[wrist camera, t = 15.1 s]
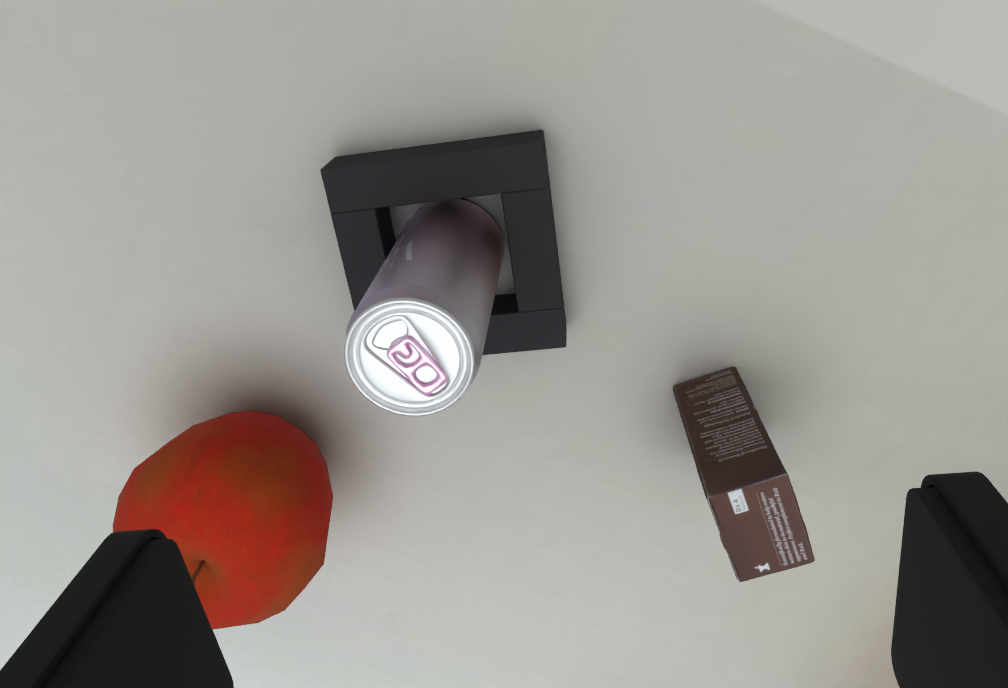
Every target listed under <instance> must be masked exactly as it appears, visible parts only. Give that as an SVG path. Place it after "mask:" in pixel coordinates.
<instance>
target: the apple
mask: <svg viewBox="0 0 1008 688" xmlns="http://www.w3.org/2000/svg"><path fill="white" fill-rule="evenodd" d="M332 501H333V494H332V489H331V484H330V479H329V474H328V469H327V464H326V461H325V459H324V457H323V456H322V454H321V452H320V450H319V448H318V446H317V444H316V443H315V442H314V441H313V440H312V439H311V438H310V437H308V436H307V435H306V434H305V433H304V432H303V431H302V430H301V429H300V428H298V427H297V426H295V425H293V424H291V423H289V422H288V421H286V420H284V419H282V418H280V417H279V416H277V415H272V414H267V413H262V412H258V411H243V412H233V413H228V414H225V415H222V416H219V417H217V418H214V419H211V420H208V421H205V422H202V423H199V424H196V425H193V426H191V427H190V428H189V429H187V430H186V431H184V432H183V433H181V434H180V435H178V436H177V437H175V438H174V439H172V440H171V441H170V442H168V443H167V444H166V445H164V446H163V447H162V448H160V449H159V450H158V451H156V452H155V453H154V454H153V455H151V456H150V457H149V458H147V459H146V460H145V461H144V462H142V463H141V464H140V465H138V466H137V467H136V468H134V470H133V472H132V473H131V475H130V477H129V479H128V481H127V482H126V484H125V486H124V488H123V490H122V491H121V493H120V495H119V498H118V503H117V508H116V513H115V517H114V522H113V533H114V532H117V531H129V530H143V529H158V530H160V531H162V532H163V533H164V534H165V536H166V538H167V539H172V540H174V541H175V542H176V543H177V545H178V547H179V549H180V552H181V554H182V557H183V559H184V561H185V564H186V566H187V569H188V571H189V574H190V576H191V579H192V581H193V583H194V586H195V588H196V591H197V593H198V596H199V598H200V601H201V603H202V606H203V608H204V610H205V613H206V615H207V618H208V620H209V623H210V625H211V628H212V629H218V628H226V627H233V626H240V625H246V624H253V623H259V622H261V621H263V620H265V619H267V618H269V617H271V616H273V615H275V614H278V613H280V612H282V611H284V610H285V609H286V608H287V607H288V606H289V605H290V604H291V603H292V602H293V600H294V599H295V598H296V597H297V596H298V595H299V594H300V593H301V592H302V591H303V589H304V588H305V587H306V586H307V585H308V583H309V582H310V581H311V579H312V578H313V577H314V576H315V574H316V573H317V572H318V571H319V569H320V568H321V567H322V565H323V564H324V558H325V551H326V543H327V536H328V529H329V522H330V515H331V508H332Z"/></svg>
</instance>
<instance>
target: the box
mask: <svg viewBox="0 0 1008 688" xmlns="http://www.w3.org/2000/svg"><path fill="white" fill-rule="evenodd" d="M673 392H674V395H675V398H676V402H677V405H678V408H679V412H680V415H681V418H682V422H683V425H684V428H685V431H686V434H687V438H688V441H689V444H690V447H691V450H692V454H693V457H694V460H695V463H696V467H697V471H698V474H699V477H700V480H701V483H702V486H703V490H704V493H705V496H706V498H707V501H708V504H709V506H710V509H711V511H712V514H713V516H714V519H715V521H716V524H717V526H718V529H719V533H720V538H721V541H722V544H723V546H724V548H725V550H726V551H727V553H728V556H729V559H730V561H731V564H732V567H733V570H734V572H735V575H736V578H737V580H738V581H739V582H743V581H747V580H750V579H754V578H757V577H761V576H765V575H768V574H772V573H776V572H780V571H784V570H788V569H791V568H795V567H798V566H802V565H805V564H809V563H812V562H814V561H815V559H814V556H813V552H812V548H811V545H810V541H809V537H808V533H807V530H806V526H805V524H804V521H803V519H802V516H801V513H800V510H799V506H798V503H797V499H796V496H795V493H794V491H793V488H792V485H791V482H790V479H789V476H788V474H787V472H786V470H785V468H784V466H783V465H782V462H781V460H780V458H779V456H778V454H777V452H776V450H775V448H774V446H773V444H772V442H771V440H770V438H769V436H768V434H767V432H766V430H765V427H764V425H763V423H762V422H761V419H760V417H759V415H758V412H757V411H756V409H755V406H754V404H753V402H752V400H751V398H750V396H749V394H748V391H747V389H746V387H745V385H744V383H743V381H742V379H741V377H740V375H739V373H738V371H737V369H736V368H735V367H733V368H730V369H726V370H722V371H719V372H716V373H713V374H709V375H706V376H702V377H700V378H697V379H693V380H690V381H688V382H684V383H682V384H679V385H676V386H674V387H673Z"/></svg>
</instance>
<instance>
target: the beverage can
mask: <svg viewBox="0 0 1008 688" xmlns="http://www.w3.org/2000/svg"><path fill="white" fill-rule="evenodd" d="M503 253H504V246H503V239H502V236H501V233H500V230H499V228H498V226H497V224H496V223H495V221H494V220H493V219H492V217H491V216H490V215H489V214H488V213H487V212H486V211H484V210H483V209H482V208H480V207H479V206H477V205H475V204H473V203H471V202H468V201H465V200H461V199H449V200H441V201H433V202H430V203H428V204H426V205H424V206H423V207H421V208H420V209H419V210H418V211H417V212H416V213H415V214H414V215H413V216H412V217H411V219H410V220H409V222H408V223H407V225H406V227H405V228H404V230H403V232H402V233H401V235H400V237H399V238H398V240H397V242H396V243H395V245H394V247H393V248H392V250H391V252H390V253H389V255H388V257H387V258H386V260H385V262H384V263H383V265H382V267H381V268H380V270H379V272H378V273H377V275H376V277H375V278H374V280H373V282H372V283H371V285H370V287H369V288H368V290H367V292H366V293H365V295H364V297H363V298H362V300H361V301H360V303H359V305H358V306H357V308H356V310H355V311H354V313H353V315H352V317H351V319H350V321H349V324H348V328H347V333H346V340H345V346H344V358H345V364H346V368H347V371H348V374H349V376H350V378H351V380H352V381H353V383H354V385H355V386H356V387H357V389H358V390H359V391H360V392H361V393H362V394H363V395H364V396H365V397H366V398H367V399H368V400H369V401H371V402H372V403H374V404H375V405H377V406H378V407H380V408H382V409H384V410H387V411H389V412H392V413H396V414H400V415H405V416H424V415H430V414H434V413H437V412H440V411H442V410H445V409H446V408H448V407H450V406H451V405H453V404H454V403H455V402H457V401H458V400H459V399H460V398H461V397H462V396H463V394H464V393H465V392H466V390H467V389H468V387H469V385H470V384H471V383H472V381H473V380H474V378H475V376H476V374H477V372H478V370H479V367H480V363H481V358H482V353H483V349H484V344H485V339H486V335H487V330H488V325H489V321H490V316H491V311H492V307H493V302H494V297H495V292H496V288H497V283H498V278H499V274H500V269H501V264H502V260H503Z"/></svg>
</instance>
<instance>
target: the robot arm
mask: <svg viewBox="0 0 1008 688" xmlns="http://www.w3.org/2000/svg"><path fill="white" fill-rule="evenodd" d="M891 656H892V664H893V669H894V673H895V677H896V679H897V682H898V685H899V687H900V688H1008V503H1007V502H1006V501H1005V499H1004V498H1003V497H1002V496H1001V494H1000V493H999V492H998V491H997V489H996V488H995V487H994V486H993V485H992V483H991V482H990V481H989V480H988V478H987V477H985V476H984V475H983V474H982V473H979V472H964V473H950V474H935V475H928V476H926V477H925V478H924V479H923V481H922V485H921V488H912V489H910V490H909V491H908V493H907V498H906V506H905V516H904V526H903V537H902V547H901V557H900V567H899V577H898V587H897V597H896V607H895V617H894V627H893V637H892V648H891ZM0 688H234V687H233V680H232V677H231V674H230V672H229V669H228V667H227V664H226V662H225V659H224V657H223V654H222V652H221V650H220V647H219V645H218V642H217V640H216V637H215V635H214V632H213V630H212V628H211V625H210V623H209V620H208V618H207V615H206V613H205V610H204V608H203V606H202V603H201V601H200V598H199V596H198V593H197V591H196V588H195V586H194V583H193V581H192V579H191V576H190V574H189V571H188V569H187V566H186V564H185V561H184V559H183V557H182V554H181V552H180V549H179V547H178V545H177V543H176V542H175V541H174V540H172V539H167V538H166V536H165V534H164V533H163V532H162V531H160V530H158V529H143V530H129V531H117V532H114V533H111V534H110V535H109V536H108V537H107V538H106V539H105V540H104V541H103V542H102V544H101V545H100V546H99V547H98V549H97V550H96V551H95V552H94V554H93V555H92V556H91V557H90V559H89V560H88V561H87V562H86V564H85V565H84V566H83V567H82V569H81V570H80V571H79V572H78V574H77V575H76V576H75V578H74V579H73V580H72V581H71V583H70V584H69V585H68V586H67V588H66V589H65V590H64V591H63V593H62V594H61V595H60V596H59V598H58V599H57V600H56V601H55V603H54V604H53V605H52V606H51V608H50V609H49V610H48V611H47V613H46V614H45V615H44V616H43V618H42V619H41V620H40V621H39V623H38V624H37V625H36V626H35V628H34V629H33V630H32V631H31V633H30V634H29V635H28V637H27V638H26V639H25V640H24V642H23V643H22V644H21V645H20V647H19V648H18V649H17V650H16V652H15V653H14V654H13V655H12V657H11V658H10V659H9V660H8V662H7V663H6V664H5V665H4V667H3V668H2V669H1V670H0Z"/></svg>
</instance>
